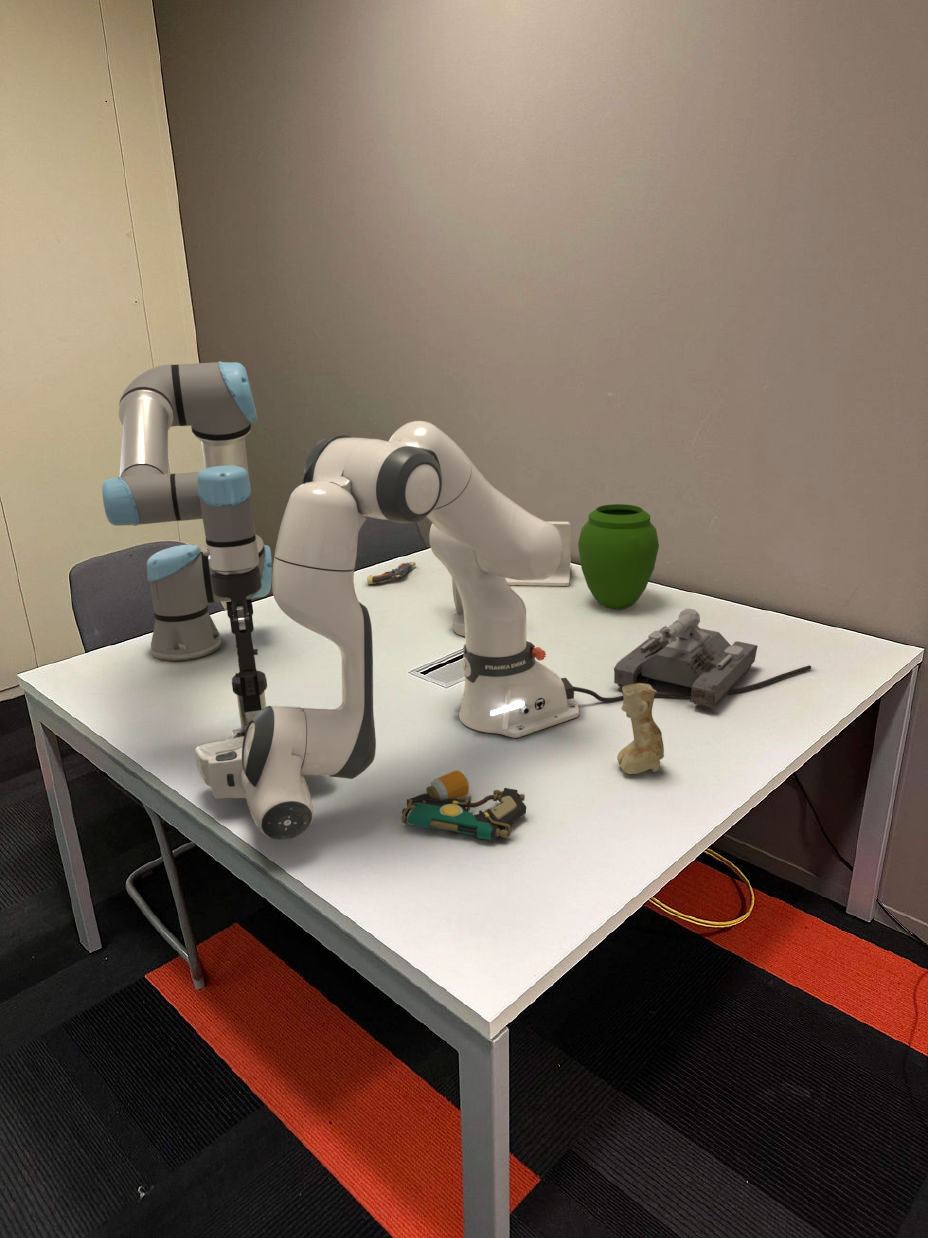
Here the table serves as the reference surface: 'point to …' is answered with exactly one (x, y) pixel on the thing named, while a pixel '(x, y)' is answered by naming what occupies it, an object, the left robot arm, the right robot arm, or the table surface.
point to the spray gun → (463, 808)
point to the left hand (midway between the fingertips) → (251, 701)
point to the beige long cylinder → (248, 716)
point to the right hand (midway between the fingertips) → (254, 729)
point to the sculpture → (641, 731)
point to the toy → (688, 660)
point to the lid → (261, 682)
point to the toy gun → (391, 573)
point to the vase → (618, 554)
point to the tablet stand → (563, 570)
